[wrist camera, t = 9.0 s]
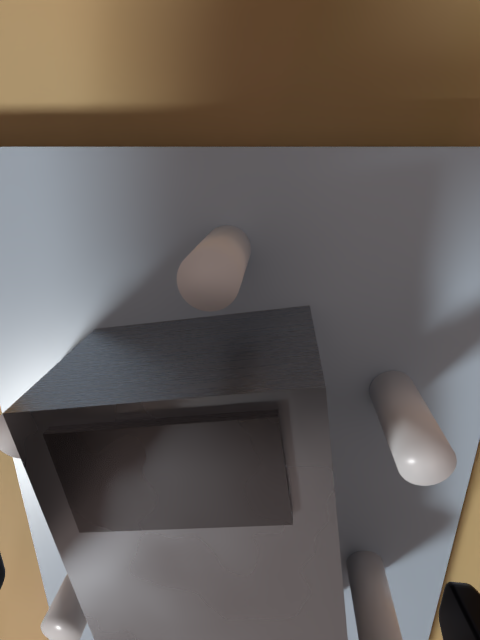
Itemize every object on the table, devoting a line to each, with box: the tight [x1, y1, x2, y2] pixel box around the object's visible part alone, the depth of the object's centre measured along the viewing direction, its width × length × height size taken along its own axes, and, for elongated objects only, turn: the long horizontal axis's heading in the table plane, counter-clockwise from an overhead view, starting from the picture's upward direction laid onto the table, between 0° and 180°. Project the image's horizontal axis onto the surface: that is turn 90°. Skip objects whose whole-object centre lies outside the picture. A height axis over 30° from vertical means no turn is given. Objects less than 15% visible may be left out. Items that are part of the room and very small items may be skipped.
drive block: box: [2, 305, 348, 640], centre depth 9 cm, size 9×5×4 cm, turn 9°
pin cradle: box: [0, 147, 480, 640], centre depth 10 cm, size 16×12×4 cm
